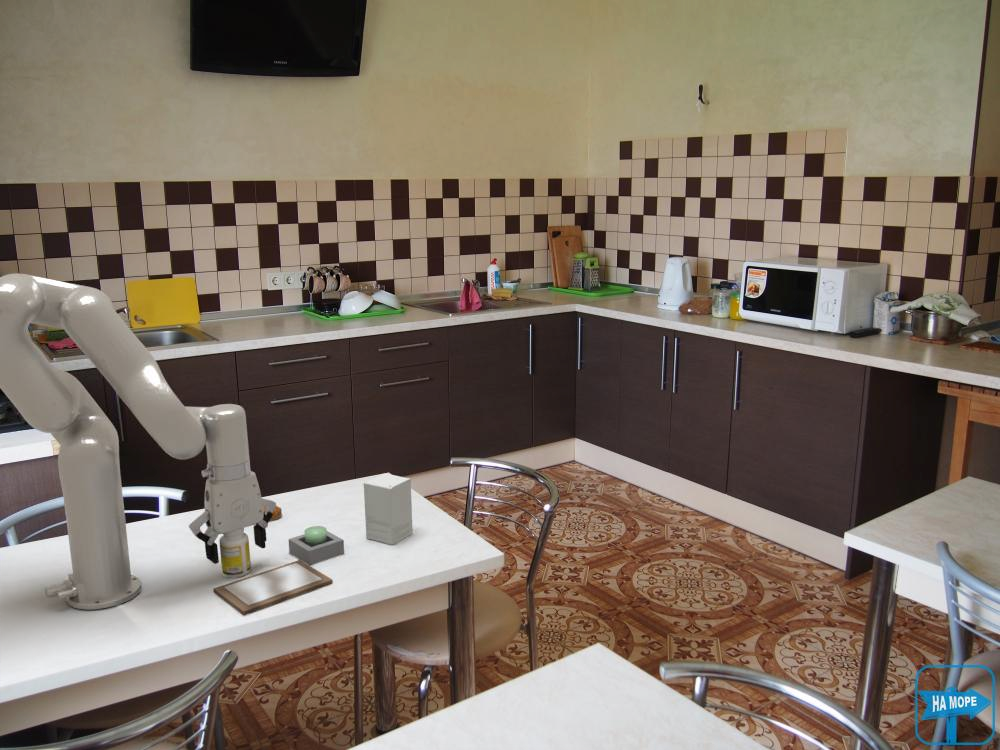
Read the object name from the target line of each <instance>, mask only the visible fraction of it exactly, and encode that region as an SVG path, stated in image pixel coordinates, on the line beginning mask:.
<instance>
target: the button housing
mask: <svg viewBox="0 0 1000 750" xmlns="http://www.w3.org/2000/svg"><path fill="white" fill-rule="evenodd" d="M344 541H345V540H344V539H343V538H341V537H339V536H338V535H335V534H334V533H332V532H330V531H328V530H327V540H326V541H325V542H322V543H318V544H309V543H306V542H305V533H304V534H301V535H297V536H295V537H291V538H288V553H289V554H291V555H292V556H293V557H295V558H297V559H298V560H301V561H303V562H304V563H306V564H308V565H309V566H311V565H315V564H318V563H321V562H323V561H327V560H330V559H332V558H335V557H338V556H342V555H344V554H345V545H344V543H345V542H344Z"/></svg>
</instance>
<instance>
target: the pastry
mask: <svg viewBox="0 0 1000 750" xmlns="http://www.w3.org/2000/svg"><path fill="white" fill-rule="evenodd" d="M265 510H266V506H263V512H264V511H265ZM282 515H283V514H282V508H281V507H279V506H278V505H276V506H275V509H274V512H273V516H272V518H271V519H270V521H269V522H272V521H276V520H278V519H280V518H281V517H282Z"/></svg>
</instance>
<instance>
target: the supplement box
mask: <svg viewBox="0 0 1000 750" xmlns="http://www.w3.org/2000/svg"><path fill="white" fill-rule="evenodd" d="M411 481H412V479H411V478H410V477H404V476H399V475H394V474H389V473H382V474H380V475H378V476H375V477H374V478H371V479H369V480H367V481H365V482H363V493H364V494H363V496H364V499H363V500H364V517H365V538H366V539H369V540H372V541H376V542H380V543H384V544H387V545H395V544H396V543H399V542H401V541H402V540H404V539H406V538H407V537H409V536H411V535H412V534H413V510H412V509H413V507H412V505H413V504H412V482H411Z"/></svg>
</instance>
